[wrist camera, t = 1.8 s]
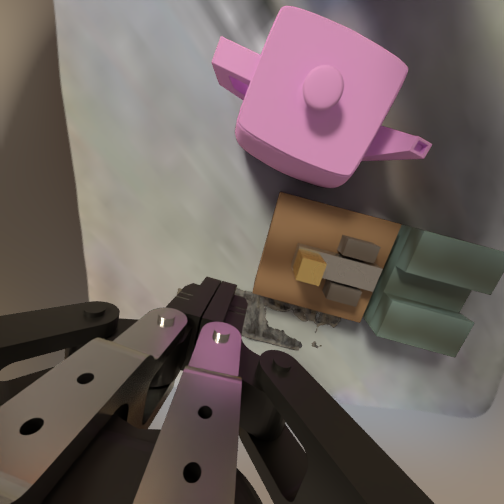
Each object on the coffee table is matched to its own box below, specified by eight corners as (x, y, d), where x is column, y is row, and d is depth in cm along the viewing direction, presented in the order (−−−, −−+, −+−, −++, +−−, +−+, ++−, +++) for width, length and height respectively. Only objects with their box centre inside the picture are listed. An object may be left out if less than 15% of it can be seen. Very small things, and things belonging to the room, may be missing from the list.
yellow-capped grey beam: (297, 242, 24) (303, 255, 20) (375, 263, 24) (400, 281, 20) (290, 264, 25) (295, 281, 20) (366, 285, 25) (388, 307, 20)
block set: (279, 191, 27) (281, 192, 22) (462, 240, 27) (513, 254, 21) (255, 279, 30) (250, 301, 24) (419, 325, 30) (454, 357, 24)
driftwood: (173, 314, 33) (167, 322, 31) (182, 268, 31) (176, 274, 29) (320, 354, 33) (323, 365, 31) (337, 311, 31) (342, 319, 29)
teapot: (412, 114, 25) (505, 63, 15) (357, 209, 27) (405, 221, 17) (250, 34, 24) (234, -73, 14) (211, 140, 27) (175, 112, 17)
